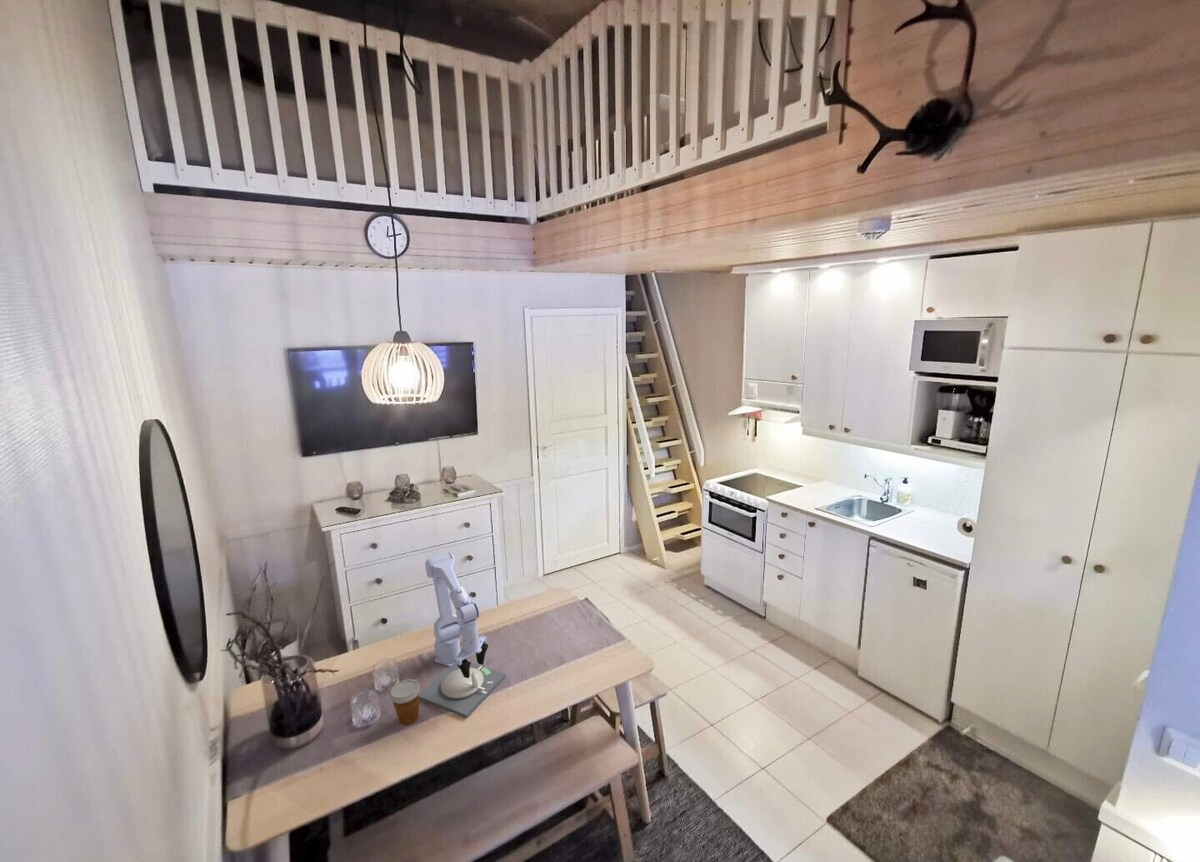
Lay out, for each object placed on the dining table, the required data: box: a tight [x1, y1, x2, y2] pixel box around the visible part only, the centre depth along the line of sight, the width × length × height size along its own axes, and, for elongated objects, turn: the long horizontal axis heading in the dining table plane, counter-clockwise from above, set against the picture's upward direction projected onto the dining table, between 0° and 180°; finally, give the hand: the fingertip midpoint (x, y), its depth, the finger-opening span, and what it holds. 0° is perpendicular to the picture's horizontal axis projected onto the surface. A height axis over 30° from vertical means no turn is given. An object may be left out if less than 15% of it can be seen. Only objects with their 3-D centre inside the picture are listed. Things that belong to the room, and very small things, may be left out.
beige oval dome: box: [441, 668, 485, 699], centre depth 191 cm, size 18×15×6 cm
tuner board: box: [419, 661, 507, 720], centre depth 193 cm, size 22×22×2 cm
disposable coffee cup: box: [389, 678, 421, 727], centre depth 178 cm, size 10×10×12 cm
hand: (473, 670), depth 188 cm, fingers open, 7 cm apart
